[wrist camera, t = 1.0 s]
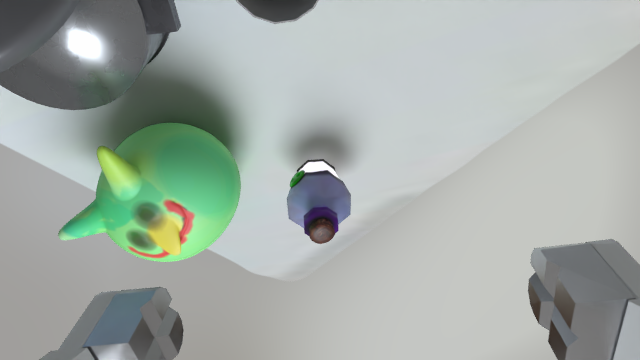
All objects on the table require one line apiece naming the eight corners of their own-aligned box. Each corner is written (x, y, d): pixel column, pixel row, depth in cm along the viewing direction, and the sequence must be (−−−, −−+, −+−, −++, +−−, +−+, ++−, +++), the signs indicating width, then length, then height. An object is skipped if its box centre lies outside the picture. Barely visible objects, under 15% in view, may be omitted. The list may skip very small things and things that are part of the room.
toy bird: (208, 227, 63) (190, 308, 52) (92, 180, 57) (42, 261, 45) (267, 138, 55) (261, 211, 43) (139, 73, 49) (91, 137, 37)
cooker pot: (-61, -87, 39) (-152, -75, 31) (165, -113, 39) (133, -109, 31) (30, 82, 49) (-21, 124, 41) (210, 61, 49) (195, 99, 40)
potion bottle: (296, 141, 56) (299, 198, 46) (356, 158, 58) (370, 216, 48) (277, 191, 60) (275, 252, 51) (333, 205, 62) (341, 266, 53)
